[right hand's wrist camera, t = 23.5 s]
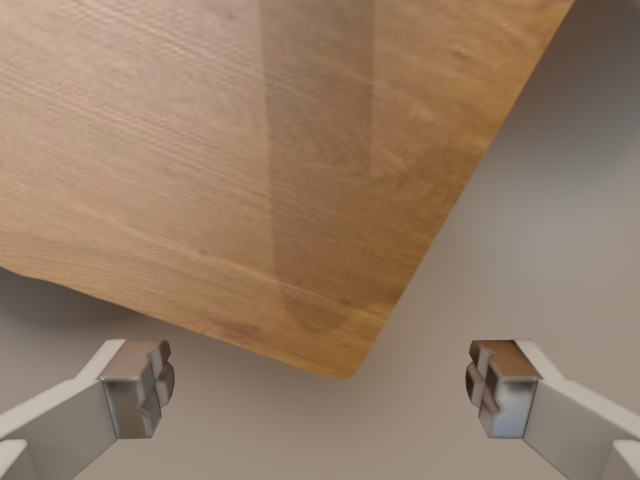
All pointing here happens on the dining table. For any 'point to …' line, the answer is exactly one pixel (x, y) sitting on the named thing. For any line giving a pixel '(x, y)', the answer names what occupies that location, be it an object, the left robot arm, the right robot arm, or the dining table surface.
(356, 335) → the dining table surface
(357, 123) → the dining table surface
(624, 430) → the right robot arm
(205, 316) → the dining table surface
